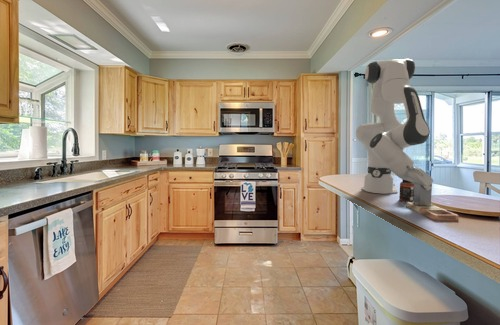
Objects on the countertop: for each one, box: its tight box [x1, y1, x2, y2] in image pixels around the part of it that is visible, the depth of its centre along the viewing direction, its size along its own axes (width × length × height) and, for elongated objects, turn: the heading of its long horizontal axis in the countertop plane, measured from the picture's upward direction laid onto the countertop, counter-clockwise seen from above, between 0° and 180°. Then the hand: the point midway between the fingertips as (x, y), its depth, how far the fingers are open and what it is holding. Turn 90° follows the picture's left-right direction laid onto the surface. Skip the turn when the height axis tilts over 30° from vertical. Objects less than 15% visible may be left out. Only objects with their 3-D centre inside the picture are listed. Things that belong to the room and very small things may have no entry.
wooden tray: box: [406, 201, 460, 222], centre depth 102 cm, size 19×8×2 cm, turn 176°
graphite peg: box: [413, 183, 433, 207], centre depth 107 cm, size 4×4×13 cm
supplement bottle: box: [398, 179, 414, 203], centre depth 121 cm, size 6×6×11 cm
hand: (424, 187), depth 107 cm, fingers closed on graphite peg, 4 cm apart
